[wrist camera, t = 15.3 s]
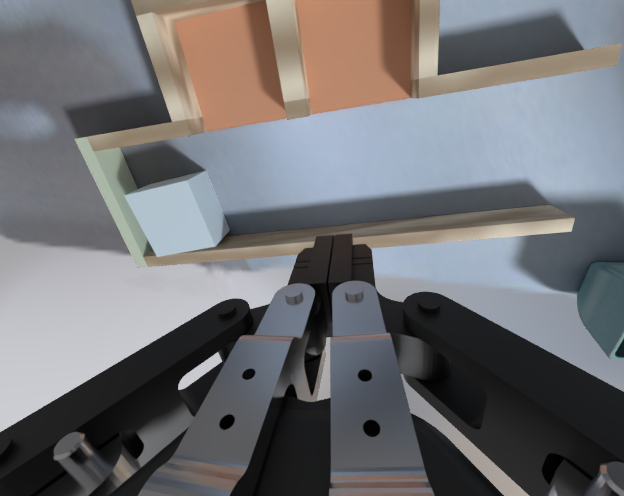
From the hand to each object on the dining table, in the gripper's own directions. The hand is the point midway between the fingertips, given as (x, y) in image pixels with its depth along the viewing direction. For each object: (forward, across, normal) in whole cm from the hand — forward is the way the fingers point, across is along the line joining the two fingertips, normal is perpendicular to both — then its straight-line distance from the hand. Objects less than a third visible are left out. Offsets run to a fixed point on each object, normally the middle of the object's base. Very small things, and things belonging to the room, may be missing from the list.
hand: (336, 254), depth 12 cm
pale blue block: (+23, +20, +4) cm, 31 cm away
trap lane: (+23, +3, -3) cm, 23 cm away
